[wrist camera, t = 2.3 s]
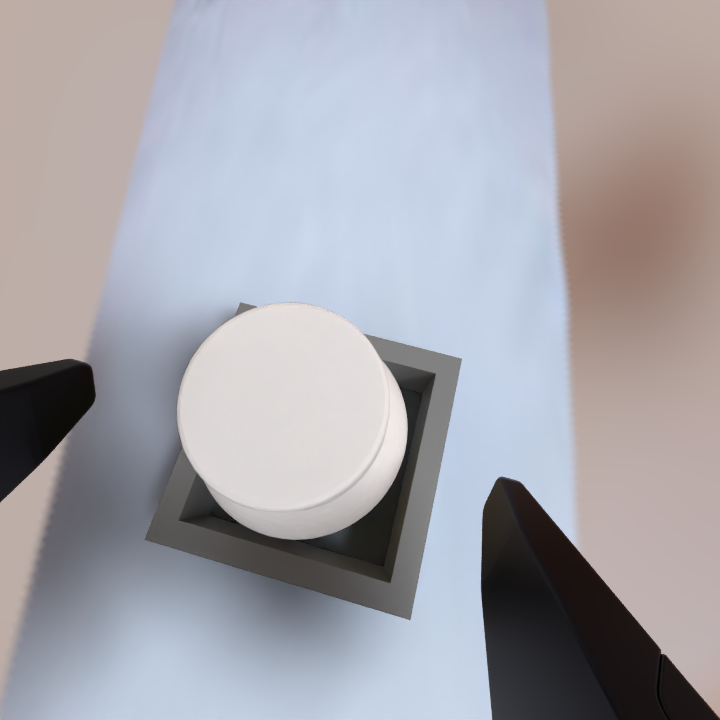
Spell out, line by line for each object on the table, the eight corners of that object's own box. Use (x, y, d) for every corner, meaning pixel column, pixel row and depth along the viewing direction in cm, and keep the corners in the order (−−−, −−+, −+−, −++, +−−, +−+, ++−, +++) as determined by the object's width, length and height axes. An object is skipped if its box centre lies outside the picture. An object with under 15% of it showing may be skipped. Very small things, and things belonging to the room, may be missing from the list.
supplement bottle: (229, 445, 17) (76, 385, 7) (329, 363, 18) (303, 223, 9) (313, 552, 15) (253, 640, 6) (414, 456, 17) (489, 410, 7)
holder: (399, 596, 15) (410, 620, 12) (183, 531, 16) (144, 539, 13) (444, 380, 18) (461, 358, 15) (258, 332, 18) (240, 302, 15)
